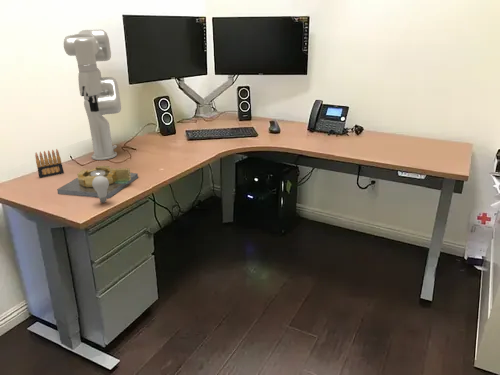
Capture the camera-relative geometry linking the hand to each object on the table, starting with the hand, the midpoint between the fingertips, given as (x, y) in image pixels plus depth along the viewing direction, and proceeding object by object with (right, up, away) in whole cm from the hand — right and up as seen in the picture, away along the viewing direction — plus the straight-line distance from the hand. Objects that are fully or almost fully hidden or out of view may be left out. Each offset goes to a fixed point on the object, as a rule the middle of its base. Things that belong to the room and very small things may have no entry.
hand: (94, 111), depth 187 cm
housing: (+4, -33, -4) cm, 33 cm away
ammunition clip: (-24, -28, +9) cm, 38 cm away
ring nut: (+7, -31, -5) cm, 32 cm away
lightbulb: (+11, -40, -21) cm, 47 cm away
